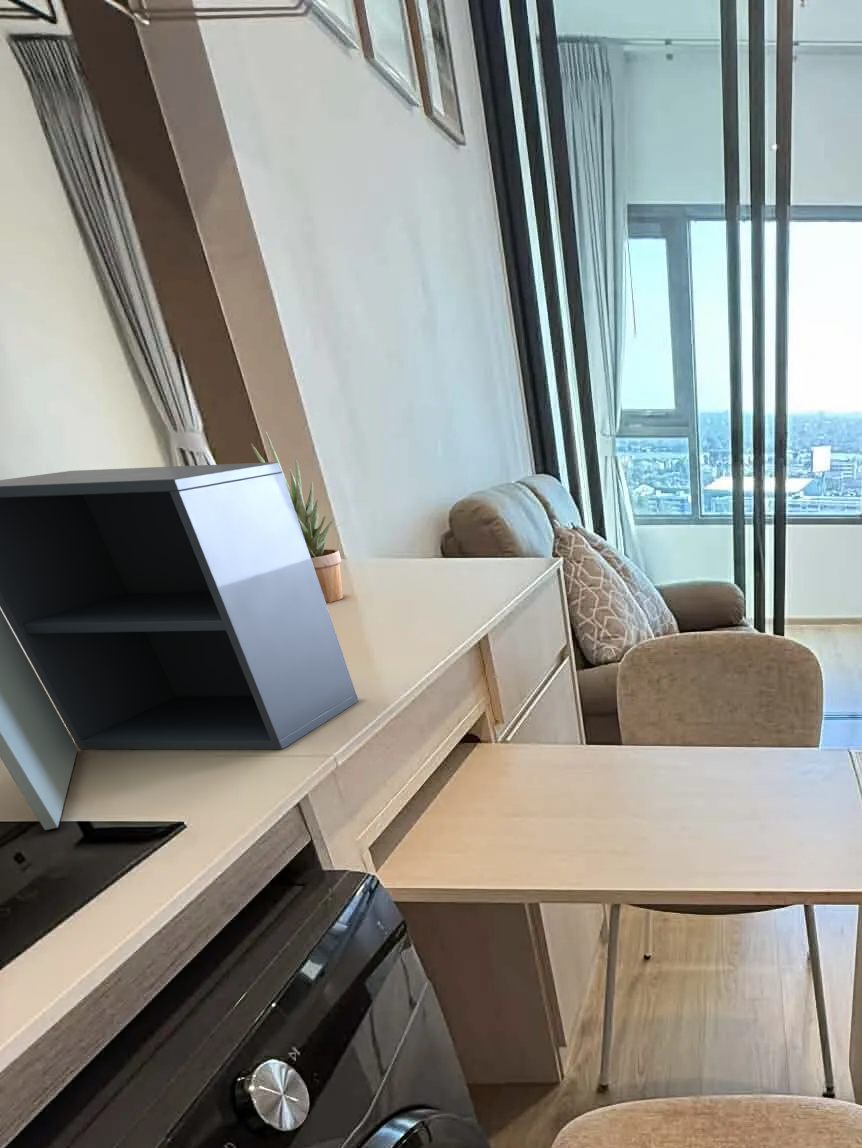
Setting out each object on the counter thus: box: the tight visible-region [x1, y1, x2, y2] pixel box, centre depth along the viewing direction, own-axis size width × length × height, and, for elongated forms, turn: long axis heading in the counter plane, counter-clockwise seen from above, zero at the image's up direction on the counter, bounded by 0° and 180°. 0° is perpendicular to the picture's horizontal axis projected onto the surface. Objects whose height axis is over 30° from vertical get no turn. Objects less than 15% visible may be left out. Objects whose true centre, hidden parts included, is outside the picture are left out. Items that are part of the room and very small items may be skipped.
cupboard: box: [0, 461, 359, 750], centre depth 88 cm, size 16×24×24 cm
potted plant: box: [251, 431, 344, 604], centre depth 142 cm, size 10×10×25 cm
